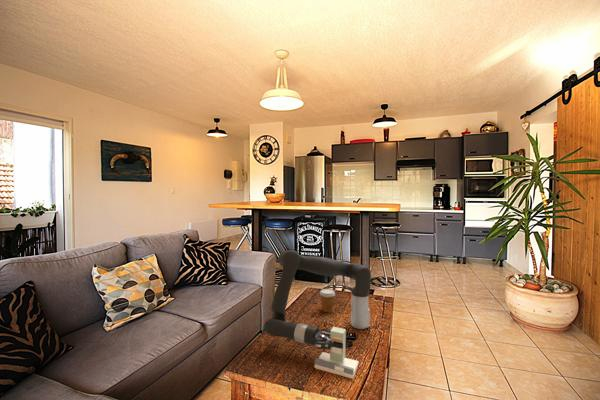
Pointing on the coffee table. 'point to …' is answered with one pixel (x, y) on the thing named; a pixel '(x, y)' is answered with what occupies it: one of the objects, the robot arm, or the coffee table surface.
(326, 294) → the disposable coffee cup
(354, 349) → the coffee table surface
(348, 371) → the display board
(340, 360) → the tea box
